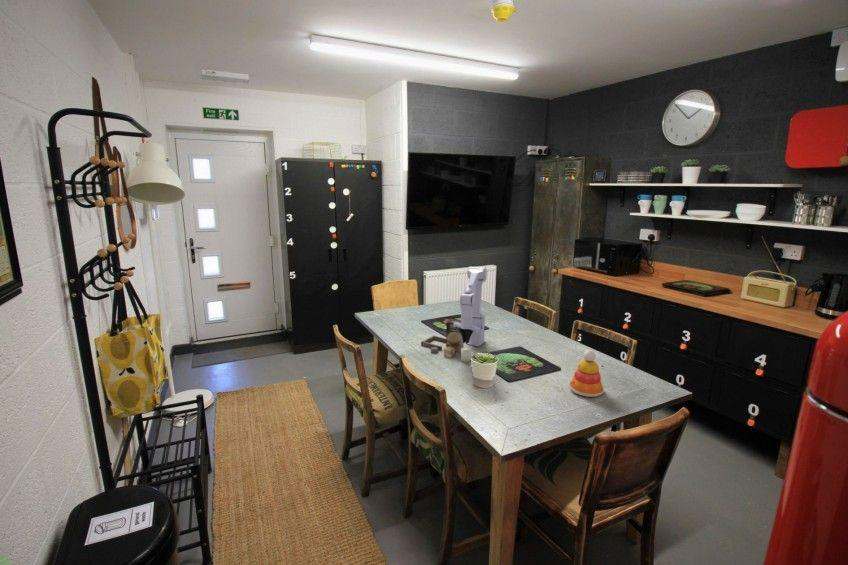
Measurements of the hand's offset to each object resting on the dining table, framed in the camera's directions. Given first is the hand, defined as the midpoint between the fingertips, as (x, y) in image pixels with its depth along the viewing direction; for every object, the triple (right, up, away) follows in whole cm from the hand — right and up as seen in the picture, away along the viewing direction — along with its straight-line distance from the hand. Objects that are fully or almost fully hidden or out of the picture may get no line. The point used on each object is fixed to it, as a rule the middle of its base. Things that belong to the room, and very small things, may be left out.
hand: (466, 342), depth 210 cm
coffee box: (-5, -6, +16) cm, 18 cm away
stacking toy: (+49, -17, -29) cm, 60 cm away
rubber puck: (-16, -7, +13) cm, 21 cm away
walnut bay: (-14, -4, +22) cm, 26 cm away
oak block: (-8, -8, +8) cm, 14 cm away
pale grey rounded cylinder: (0, -9, +2) cm, 10 cm away
